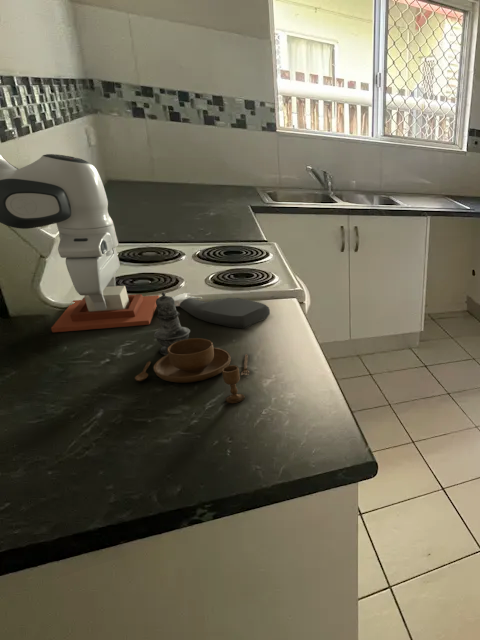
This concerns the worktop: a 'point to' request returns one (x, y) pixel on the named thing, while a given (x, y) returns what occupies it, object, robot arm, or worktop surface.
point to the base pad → (107, 315)
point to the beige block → (111, 299)
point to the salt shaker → (169, 324)
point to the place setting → (197, 365)
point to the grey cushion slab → (224, 310)
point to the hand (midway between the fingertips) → (107, 300)
